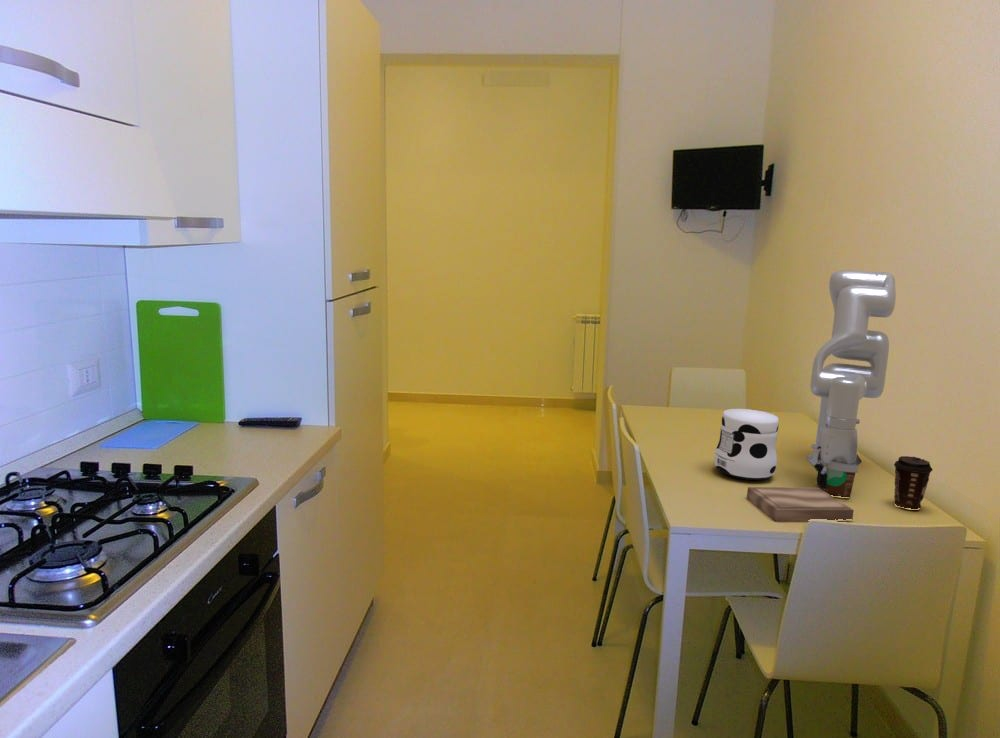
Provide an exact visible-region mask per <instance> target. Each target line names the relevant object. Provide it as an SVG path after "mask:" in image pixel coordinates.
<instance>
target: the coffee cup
mask: <svg viewBox="0 0 1000 738" xmlns="http://www.w3.org/2000/svg"><path fill="white" fill-rule="evenodd" d="M893 465H894V468H895V469H894V473H895V475H894V477H895V478H894V496H893V497H894V502H893V504H894V503H895V504H896V505H897V506H900V507H904V508H911V509H918V508H921V509H922V506H921V502H922V501H923V499H924V498H925V493H926V491H927V487H928V483H929V481H930V480H929V479H930V474H931V473H932V471H933V468H932V467H931V464H930V461H928V460H926V459H924V458H920V457H915V456H907V455H905V456H899V457H898V460H896V461H895V462H894V464H893Z"/></svg>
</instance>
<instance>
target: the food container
mask: <svg viewBox="0 0 1000 738" xmlns="http://www.w3.org/2000/svg"><path fill="white" fill-rule="evenodd" d="M820 459H821V457H820V458H819V460H817V463H819V461H820ZM820 465H821V466H822V467H823V465H824V464H822V463H821V462H820ZM825 467H826V468H827V470H826V473H825V474H826V475H827V480H826V487H825V488H821V487H820V486H818V485H817V486H818V487H817V488H820V489H822V490H823V491H825V492H826V493H828V494H829V495H833V496H841V497H850V498H851V494H852V489H853V485H854V482H855V481H854V480H855V476H856V473H859V472H858V471H859V469H858V467H859V466H857V464H843V463H838V462H833V461H831V462H830V463H829V464H826V466H825Z"/></svg>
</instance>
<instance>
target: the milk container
mask: <svg viewBox="0 0 1000 738" xmlns="http://www.w3.org/2000/svg"><path fill="white" fill-rule="evenodd" d="M778 431H779V417H778V416H776V415H775V414H773V413H769V412H767V411H761V410H758V409H757V410H756V409H755V410H754V409H750V408H748V409H747V408H728V409H726V410H723V413H722V418H721V424H720V432H719V433H720V435H719V440H718V443H717V445H716V448H715V452H714V465H715V467H716V469H717V470H718V471H719V472H721V473H722V474H724V475H727V476H729V477H733V478H736V479H741V480H746V481H747V480H750V481H759V480H761V481H762V480H767V479H770V478H772V476H774V474H775V473H776V469H777V465H778V456H777V450H776V449H777V448H776V447H777V446H776V445H777V438H778Z"/></svg>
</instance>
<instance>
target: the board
mask: <svg viewBox="0 0 1000 738" xmlns="http://www.w3.org/2000/svg"><path fill="white" fill-rule="evenodd" d="M746 499H747V500H749V501H750V502H751V503H752V504H754V505H755V506H756V507H757V508H759V509H760V510H761V511H762V512H763V513H765V514H766V515H768V517H769V518H770V519H772V520H773V521H774V522H776V523H777V522H778V523H779V522H780V523H782V522H783V523H784V522H789V523H790V522H793V523H794V522H795V523H796V522H798V523H800V522H803V523H805V522H806V521H808V520H810V519H827V520H835V519H836V520H838V519H843V520H846V519H852V520H853V518H854V511H855V510H854V509H852V508H851V507H849V506H848V505H846V504H845V503H843V502H841V501H840V500H838V498H835V497H832V496H831V495H829V494H828V493H826V492H825V491H823V490H822V489H820V488H818V487H798V486H797V487H796V486H795V487H791V486H790V487H787V486H786V487H782V486H781V487H776V486H775V487H774V486H769V487H768V486H766V487H764V486H748V487H747V491H746Z"/></svg>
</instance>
